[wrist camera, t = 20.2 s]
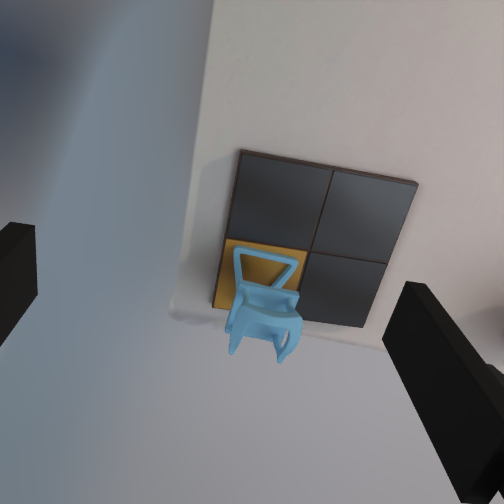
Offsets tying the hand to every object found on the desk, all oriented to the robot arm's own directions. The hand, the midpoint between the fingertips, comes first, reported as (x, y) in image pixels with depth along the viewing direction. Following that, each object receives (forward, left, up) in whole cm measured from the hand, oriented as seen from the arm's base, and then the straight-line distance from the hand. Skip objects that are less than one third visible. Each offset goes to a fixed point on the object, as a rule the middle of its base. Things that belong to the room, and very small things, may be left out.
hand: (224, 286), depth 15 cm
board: (+13, +12, -32) cm, 37 cm away
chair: (+18, +7, -31) cm, 37 cm away
